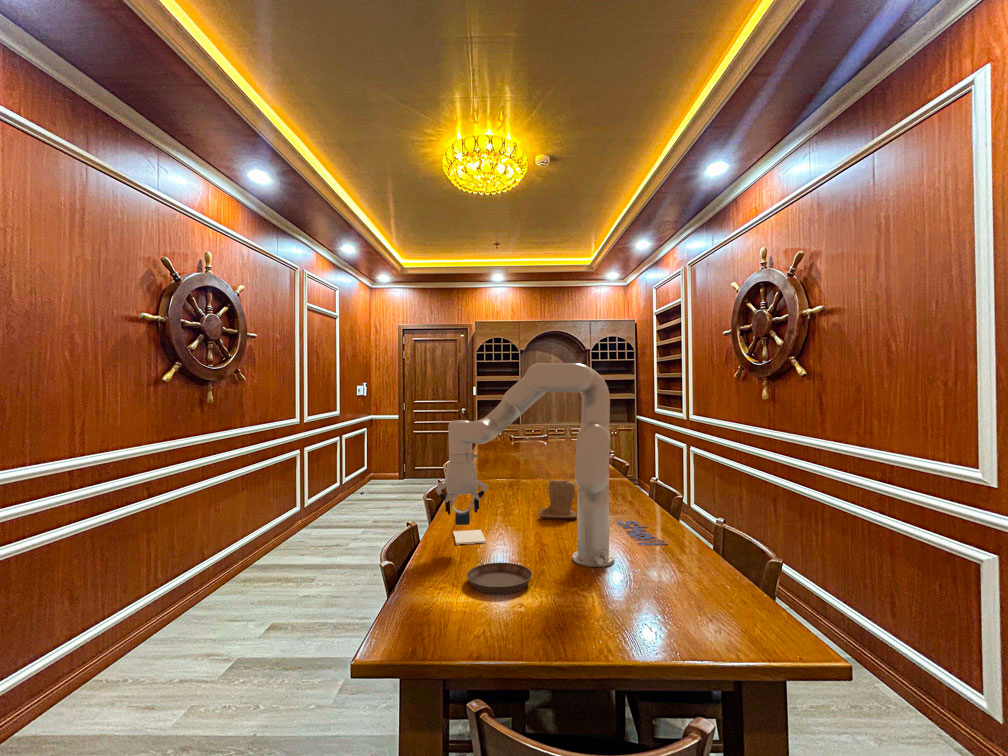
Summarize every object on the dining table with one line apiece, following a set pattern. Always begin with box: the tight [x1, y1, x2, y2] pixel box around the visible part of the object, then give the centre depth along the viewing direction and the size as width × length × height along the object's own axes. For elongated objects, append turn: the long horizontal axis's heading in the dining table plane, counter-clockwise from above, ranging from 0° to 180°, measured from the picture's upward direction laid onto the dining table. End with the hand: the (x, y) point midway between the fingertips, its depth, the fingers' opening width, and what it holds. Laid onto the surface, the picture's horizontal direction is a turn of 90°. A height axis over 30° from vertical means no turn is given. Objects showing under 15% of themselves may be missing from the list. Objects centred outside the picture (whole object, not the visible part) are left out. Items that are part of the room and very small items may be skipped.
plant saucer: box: [466, 562, 533, 595], centre depth 137 cm, size 18×18×3 cm
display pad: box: [452, 529, 487, 546], centre depth 176 cm, size 13×10×1 cm
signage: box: [616, 520, 669, 546], centre depth 182 cm, size 28×1×10 cm
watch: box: [449, 494, 475, 526], centre depth 163 cm, size 6×8×11 cm
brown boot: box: [538, 479, 577, 519], centre depth 203 cm, size 15×12×15 cm
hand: (462, 512), depth 163 cm, fingers closed on watch, 8 cm apart
